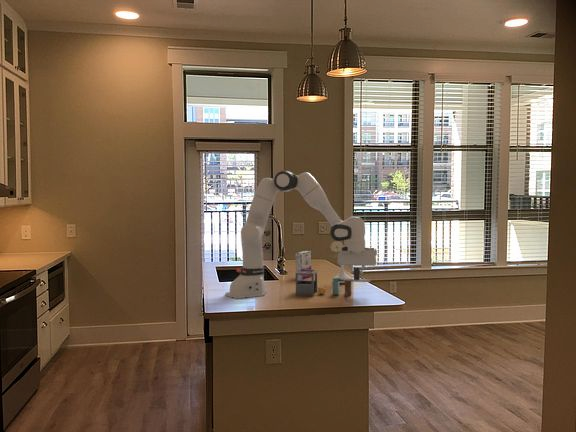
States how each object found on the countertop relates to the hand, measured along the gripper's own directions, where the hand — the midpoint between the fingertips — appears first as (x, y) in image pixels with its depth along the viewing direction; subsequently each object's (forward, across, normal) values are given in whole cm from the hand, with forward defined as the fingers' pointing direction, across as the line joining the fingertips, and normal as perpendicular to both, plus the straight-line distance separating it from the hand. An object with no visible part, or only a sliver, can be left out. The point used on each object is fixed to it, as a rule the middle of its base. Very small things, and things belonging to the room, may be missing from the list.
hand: (356, 273), depth 263 cm
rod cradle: (+12, +5, 0) cm, 12 cm away
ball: (+10, +19, 0) cm, 21 cm away
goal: (+12, +27, 0) cm, 29 cm away
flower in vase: (+12, +12, -33) cm, 37 cm away
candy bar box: (+12, +37, -47) cm, 61 cm away
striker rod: (+11, +3, 0) cm, 11 cm away
